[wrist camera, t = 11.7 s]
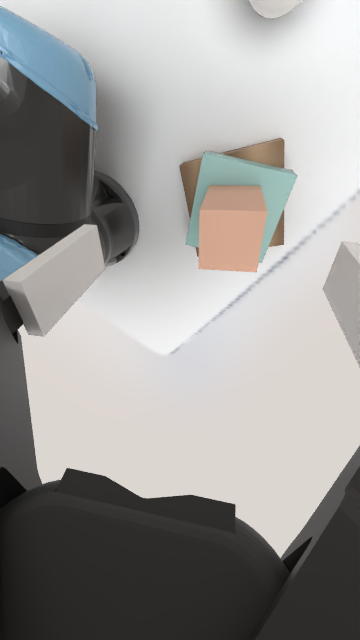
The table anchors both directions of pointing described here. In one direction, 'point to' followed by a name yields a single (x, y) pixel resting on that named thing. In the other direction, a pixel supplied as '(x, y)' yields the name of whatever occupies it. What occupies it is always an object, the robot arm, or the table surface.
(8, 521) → the robot arm
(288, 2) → the cup
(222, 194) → the tall block
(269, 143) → the block bottom
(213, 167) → the block top
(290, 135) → the table surface
